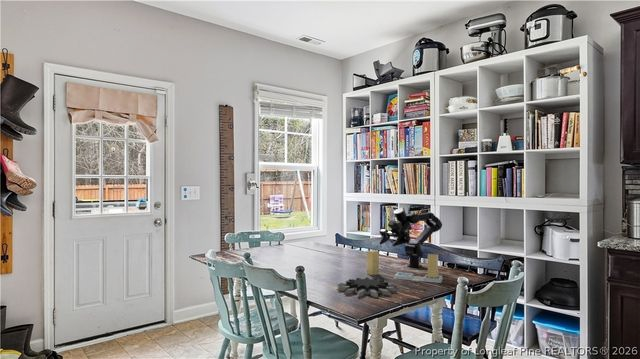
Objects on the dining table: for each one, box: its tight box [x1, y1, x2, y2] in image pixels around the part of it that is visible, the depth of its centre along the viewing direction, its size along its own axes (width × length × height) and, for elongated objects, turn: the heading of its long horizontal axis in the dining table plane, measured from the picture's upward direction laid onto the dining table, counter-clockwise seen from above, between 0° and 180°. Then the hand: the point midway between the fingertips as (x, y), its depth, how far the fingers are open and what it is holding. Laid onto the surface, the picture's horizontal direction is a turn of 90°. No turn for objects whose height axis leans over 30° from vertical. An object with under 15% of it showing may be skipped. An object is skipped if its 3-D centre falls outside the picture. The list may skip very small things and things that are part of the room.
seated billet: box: [427, 253, 439, 279], centre depth 196 cm, size 4×4×12 cm
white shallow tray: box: [393, 271, 443, 284], centre depth 199 cm, size 9×23×2 cm, turn 67°
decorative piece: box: [336, 276, 400, 299], centre depth 181 cm, size 30×4×30 cm
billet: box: [366, 249, 380, 276], centre depth 212 cm, size 4×4×12 cm
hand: (386, 244), depth 215 cm, fingers open, 9 cm apart
